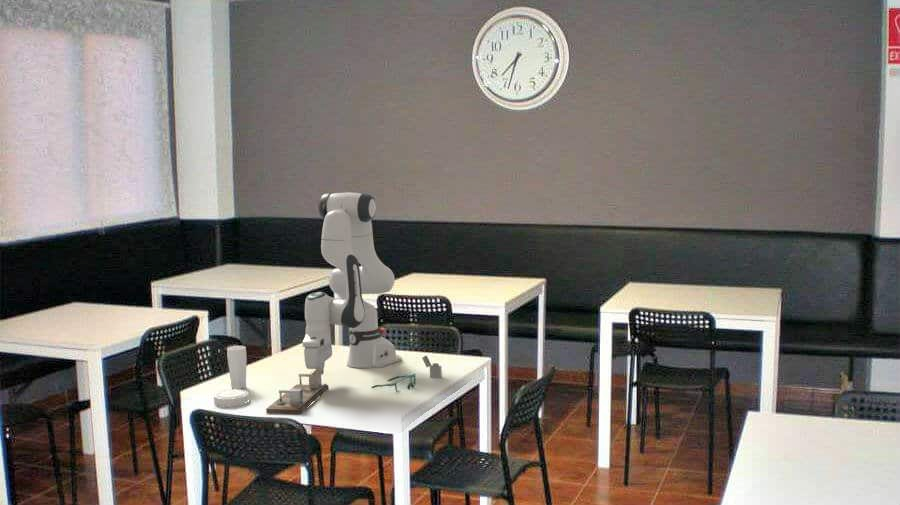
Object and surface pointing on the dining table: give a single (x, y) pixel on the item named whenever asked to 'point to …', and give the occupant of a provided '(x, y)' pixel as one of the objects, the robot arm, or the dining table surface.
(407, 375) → the teal eyeglasses
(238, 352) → the drinking glass
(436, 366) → the lighter
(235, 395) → the white round disc
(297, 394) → the fixed leg
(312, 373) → the slider leg
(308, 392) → the gauge board
